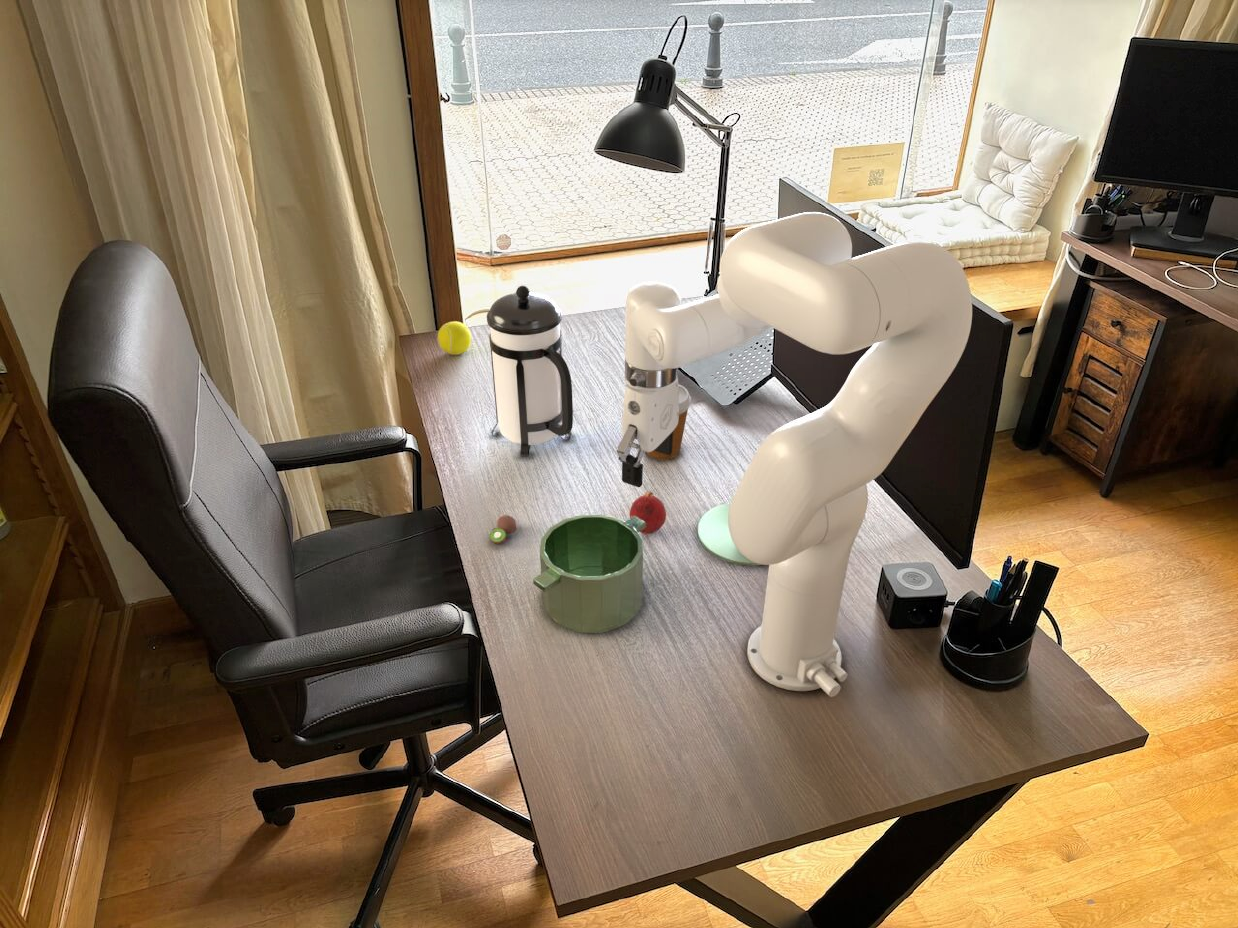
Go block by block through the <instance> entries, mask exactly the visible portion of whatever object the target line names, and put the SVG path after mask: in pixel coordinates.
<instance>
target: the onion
mask: <svg viewBox="0 0 1238 928" xmlns="http://www.w3.org/2000/svg"><path fill="white" fill-rule="evenodd" d="M653 494H654V492H653V491H651V490H647V491H646V492H645V493H644V495H641V496H639V497H638V498H636V499H635V500H634V501H633V502H632V504H631V506H630V509H629V513H628V514H629V518H631V517H633V516H636V517H638V518H639V519H641V520H643V521H644V522H646V528H644V529H643V530H641V531H640V532H639V533H641V534H645V535H649V534H653V533H655V532H657V531H659V530H660V529H661V528H662V527H663V525H664V524H665V522H666V518H667V509H666V508H665V507H666V506H665V505H664V502H663V501H662V500H661V499H660V498H658V497H657V496H656V495H653Z"/></svg>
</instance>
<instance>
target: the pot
mask: <svg viewBox="0 0 1238 928" xmlns="http://www.w3.org/2000/svg"><path fill="white" fill-rule="evenodd" d="M644 528H646V522H644V521H643V520H641V519H639V518H638V517H636V516H633V517H631V518H630V517H629V518H628V519H626V520H623V519H621V518H618V517H614V516H610V515H606V514H601V513H600V514H599V513H598V514H597V513H596V514H580V515H576V516H575V515H574V516H571V517H568V518H565V519H562V520H561V521H560V522H557V523H556V524H553V525H552V526H551V527H549V528H548V529H547V531H546V532H545V534H544V535H543V536H542V538H541V539H540V544H539V545H540V546H539V561H540V563H539V564H540V574H539V575H537V576H535V577H534V578H532V582H533V585H534V586H536V587H537V588H538V589H539V590H541V593H542V594H541V595H542V604H543V607H544V609H545V612H546V613H547V615H548V616H549V618H550V619H551V620H552V621H553V622H555V623H556V624H557V625H559V626H561V627H562V628H564V629H566V630H569V631H573V632H577V633H581V634H583V633H584V634H601V633H607V632H612V631H614V630H617V629H619V628H621V627H623V626H625V625H626V624H628V623H629V622H631V621H632V620H633V619H634V618H635V617H636V615H637V614H638V612H639V611H640V609H641V606H642V603H643V577H644V575H643V574H644V573H643V572H644V570H643V569H644V541H643V540H644V539H643V538H642V537H641V535H640V533H641V532H640V531H641V530H643V529H644Z"/></svg>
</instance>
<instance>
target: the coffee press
mask: <svg viewBox="0 0 1238 928" xmlns="http://www.w3.org/2000/svg"><path fill="white" fill-rule="evenodd" d="M562 317H563V313H562V310H561V308H559V306H558V305H557V303H556V301H554V300H553V299H552V298H550V297H549V296H547V295H545V294H541V293H537V292H531V290H530V289H529V288H528V286H526V285H519V286H518V287H517V288H516V290H515V292H514V293H509V294H506V295H504V296H502V297H500V298H497V300H495V301H494V302H493V303H492V305H491V306H490V309H489V310H488V312H487V313H486V322H487V324H488V326H489V335H488V336H489V347H490V357H491V369H492V379H493V392H494V393H493V394H494V406H495V417H496V418H495V419H496V424H494V426H493V427H492V430H491V435H492V436H493V437H499V436H500V435H502V437H503V438H505V439H506V440H507V441H509V442H511V443H514V444H517V445H518V444H519V445H520V457H521V458H529V457H530V451H531V450H530V449H531V446H534V445H540V444H541V445H542V444H544V443H547V442H550V441H551V440H553V439H555V438H556V437H560V438H561V439H562V440H563V441H570V440H571V438H572V429H573V425H574V407H573V406H574V405H573V403H574V402H573V401H574V400H573V385H572V383H573V382H572V376H571V372H570V369H569V367H568V364H567V362H566V360H565V358H564V357H563V346H562V345H563V344H562V343H563V339H562V336H563V335H562V331H561V322H562V319H563V318H562ZM497 426H498V430H499V431H496V430H495V429H496V428H497Z"/></svg>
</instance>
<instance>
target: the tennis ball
mask: <svg viewBox="0 0 1238 928" xmlns="http://www.w3.org/2000/svg"><path fill="white" fill-rule="evenodd" d="M437 342H438V345H439V347H440V349H442V351H443V352H444V353H446V354H449V355H453V356H457V355H458V356H459V355H461V354H463V353H465V352H467V351H468V350H469V349H470V347H471V344H472V333H471V331H470V329H469V328H468V327H467V326H466V324H465V323H463V322H460V321H457V320H454V321H453V320H452V321H449V322H446V323H444V324H443V325H441V327H440V328H439V330H438V332H437Z"/></svg>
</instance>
